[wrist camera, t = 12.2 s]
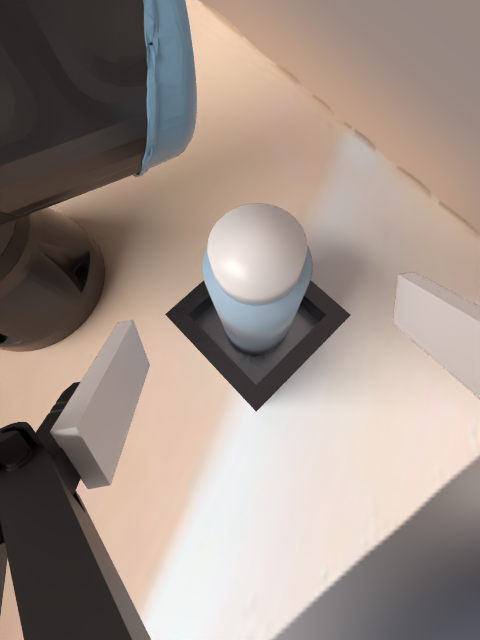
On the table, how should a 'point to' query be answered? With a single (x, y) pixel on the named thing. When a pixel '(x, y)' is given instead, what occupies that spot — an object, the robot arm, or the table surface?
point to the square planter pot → (267, 369)
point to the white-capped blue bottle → (257, 274)
